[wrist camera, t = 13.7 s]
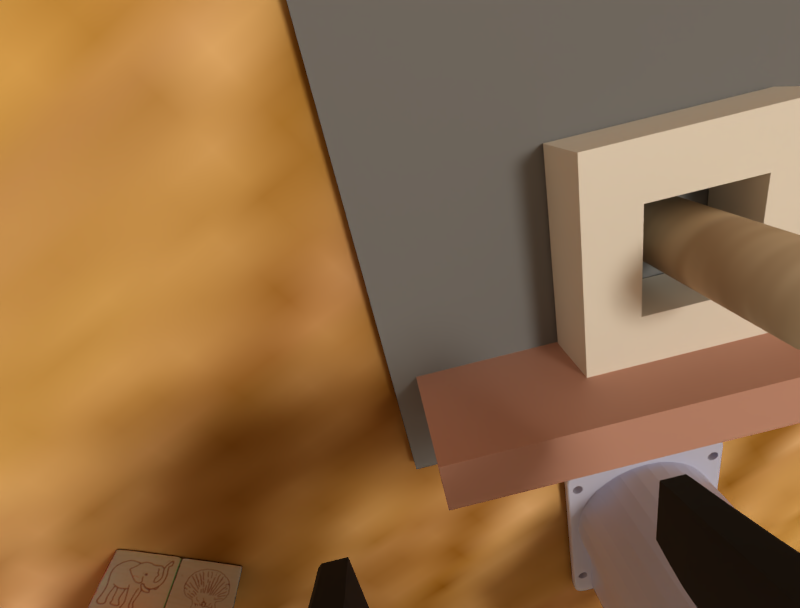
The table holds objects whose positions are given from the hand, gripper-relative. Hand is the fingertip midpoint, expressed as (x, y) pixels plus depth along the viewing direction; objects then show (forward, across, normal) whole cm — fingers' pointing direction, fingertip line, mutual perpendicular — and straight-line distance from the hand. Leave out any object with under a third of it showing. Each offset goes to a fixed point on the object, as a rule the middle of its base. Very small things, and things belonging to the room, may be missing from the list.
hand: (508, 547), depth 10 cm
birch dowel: (+9, -9, -3) cm, 13 cm away
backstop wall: (+9, -9, +2) cm, 13 cm away
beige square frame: (+9, -9, -3) cm, 13 cm away
